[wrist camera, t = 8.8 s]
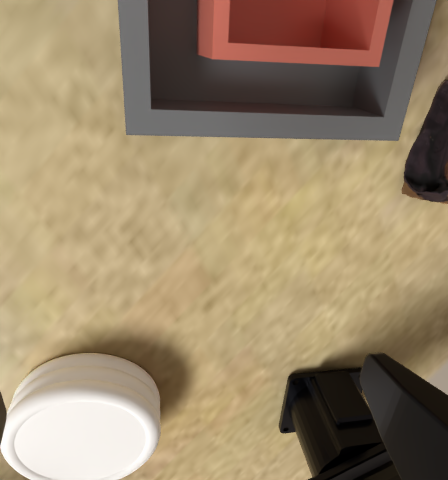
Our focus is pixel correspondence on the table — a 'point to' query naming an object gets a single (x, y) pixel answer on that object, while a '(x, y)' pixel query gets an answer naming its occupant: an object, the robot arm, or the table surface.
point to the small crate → (294, 30)
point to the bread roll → (430, 154)
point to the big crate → (261, 81)
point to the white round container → (82, 419)
